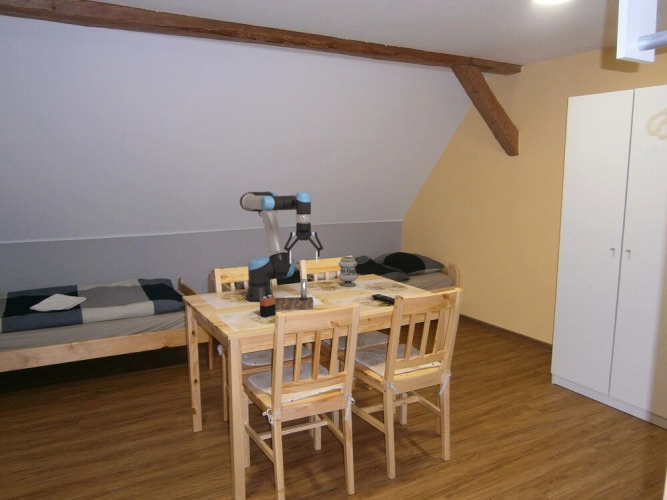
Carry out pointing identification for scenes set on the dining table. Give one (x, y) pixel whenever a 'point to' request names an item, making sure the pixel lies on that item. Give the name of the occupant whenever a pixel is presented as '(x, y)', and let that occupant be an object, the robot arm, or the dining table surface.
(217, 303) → the dining table surface
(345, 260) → the apothecary jar
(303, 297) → the pin
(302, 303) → the hole block
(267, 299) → the battery
